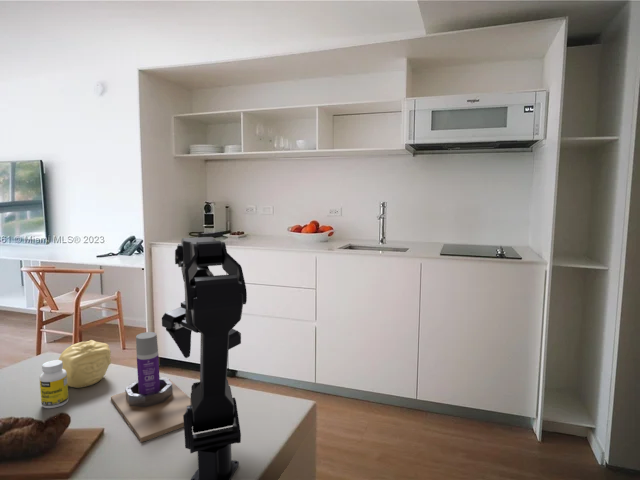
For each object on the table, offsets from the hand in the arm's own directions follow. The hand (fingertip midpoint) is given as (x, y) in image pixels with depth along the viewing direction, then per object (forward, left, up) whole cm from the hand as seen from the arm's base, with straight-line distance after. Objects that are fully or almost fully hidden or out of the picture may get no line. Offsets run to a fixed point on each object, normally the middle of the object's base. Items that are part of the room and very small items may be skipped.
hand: (201, 364), depth 92 cm
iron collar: (+5, +16, -12) cm, 21 cm away
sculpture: (+11, +38, -12) cm, 41 cm away
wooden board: (+2, +12, -12) cm, 17 cm away
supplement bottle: (0, +37, -12) cm, 39 cm away
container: (+5, +16, -11) cm, 20 cm away
